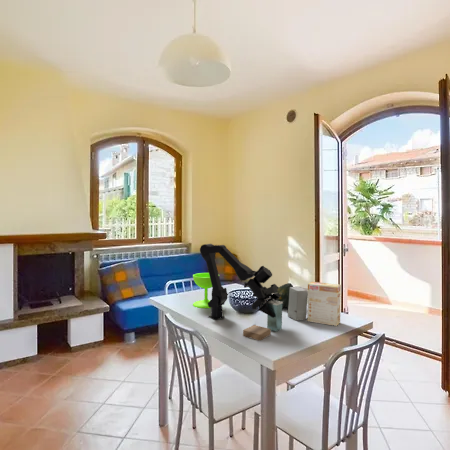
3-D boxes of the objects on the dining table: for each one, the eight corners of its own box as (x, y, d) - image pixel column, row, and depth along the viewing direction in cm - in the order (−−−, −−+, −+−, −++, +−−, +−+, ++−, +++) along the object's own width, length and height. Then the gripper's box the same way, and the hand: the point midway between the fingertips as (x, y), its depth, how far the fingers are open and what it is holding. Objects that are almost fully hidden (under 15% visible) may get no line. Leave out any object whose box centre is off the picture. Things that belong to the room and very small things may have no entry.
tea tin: (266, 329, 157) (267, 301, 156) (272, 326, 161) (273, 299, 160) (276, 331, 153) (277, 303, 153) (281, 328, 157) (282, 301, 157)
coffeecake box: (340, 322, 167) (341, 284, 166) (337, 326, 161) (337, 286, 160) (311, 317, 175) (311, 281, 174) (307, 321, 169) (307, 283, 168)
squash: (264, 296, 199) (277, 280, 191) (282, 293, 208) (294, 278, 200) (276, 316, 191) (290, 300, 183) (294, 312, 200) (308, 297, 192)
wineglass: (214, 309, 190) (214, 278, 189) (188, 307, 194) (188, 276, 193) (222, 302, 205) (222, 273, 205) (198, 300, 209) (198, 272, 209)
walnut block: (243, 336, 148) (243, 330, 148) (254, 331, 155) (254, 324, 155) (260, 341, 143) (260, 334, 143) (270, 335, 150) (270, 329, 150)
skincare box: (287, 316, 177) (287, 287, 176) (298, 315, 179) (299, 286, 179) (296, 321, 169) (296, 290, 168) (308, 319, 171) (308, 289, 171)
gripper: (256, 282, 151) (278, 310, 145) (277, 276, 166) (297, 301, 159) (242, 296, 157) (262, 324, 150) (264, 289, 171) (282, 314, 164)
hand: (277, 315), depth 156 cm, fingers closed on tea tin, 5 cm apart
